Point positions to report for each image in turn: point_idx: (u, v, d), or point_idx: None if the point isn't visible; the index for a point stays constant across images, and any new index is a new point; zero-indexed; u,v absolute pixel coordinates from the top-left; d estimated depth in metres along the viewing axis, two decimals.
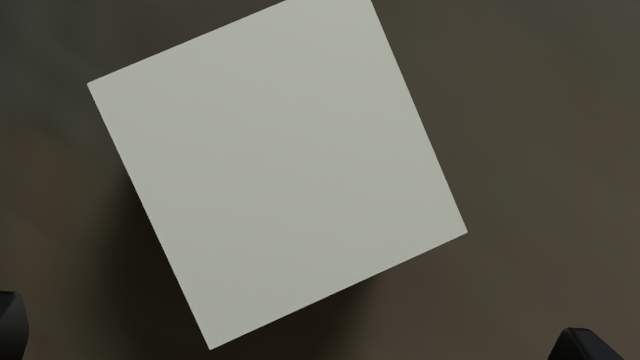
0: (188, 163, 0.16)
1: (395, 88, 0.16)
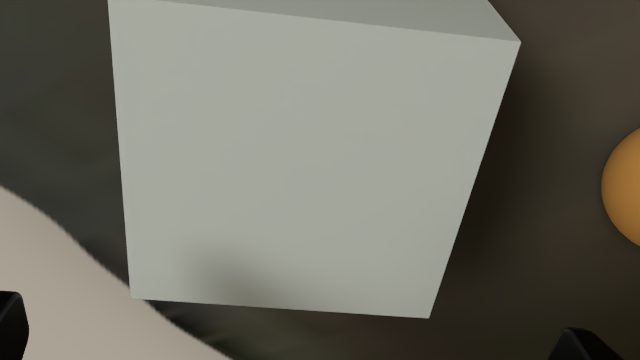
0: (250, 262, 0.14)
1: (288, 31, 0.11)
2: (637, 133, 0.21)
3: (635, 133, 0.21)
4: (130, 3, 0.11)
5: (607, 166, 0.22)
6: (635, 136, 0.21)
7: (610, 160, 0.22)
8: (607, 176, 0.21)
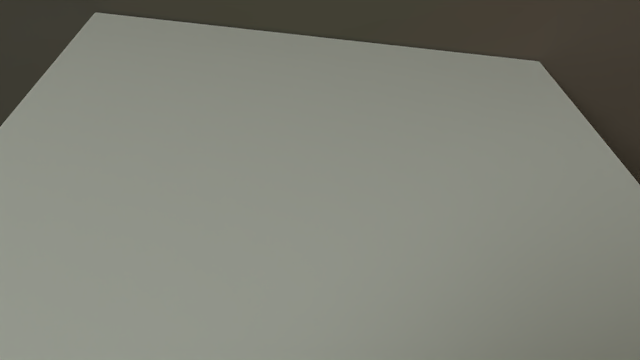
0: None
1: None
2: None
3: None
4: None
5: None
6: None
7: None
8: None
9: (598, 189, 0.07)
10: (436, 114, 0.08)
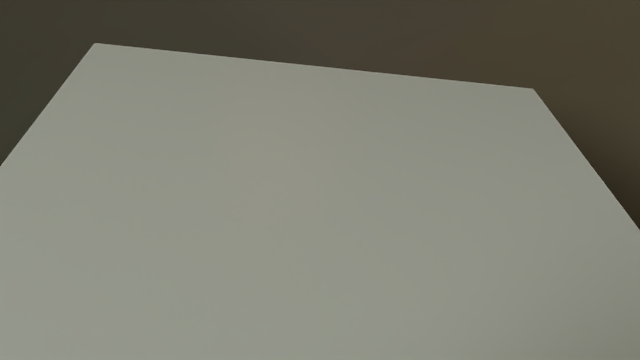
0: None
1: None
2: None
3: None
4: None
5: None
6: None
7: None
8: None
9: (590, 224, 0.07)
10: (431, 146, 0.08)
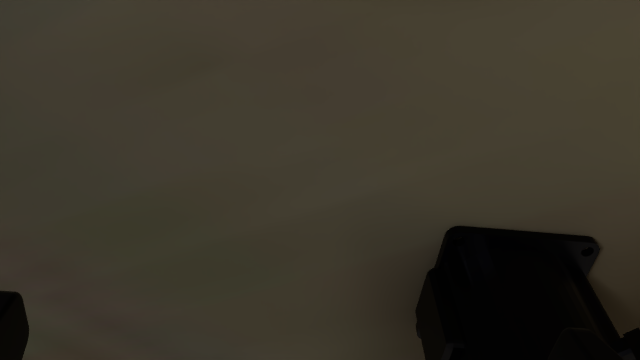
0: None
1: None
2: None
3: None
4: None
5: None
6: None
7: None
8: None
9: None
10: None
